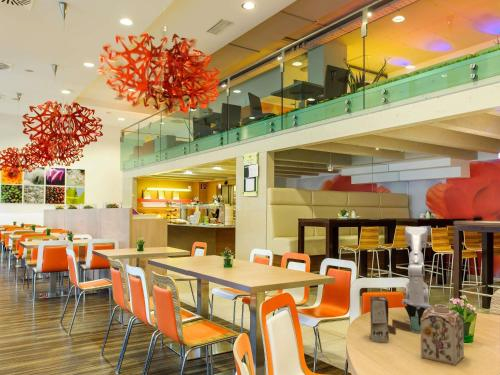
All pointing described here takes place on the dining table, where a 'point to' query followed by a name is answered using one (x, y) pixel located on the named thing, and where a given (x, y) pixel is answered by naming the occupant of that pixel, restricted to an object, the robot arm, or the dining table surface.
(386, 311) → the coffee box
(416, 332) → the mat
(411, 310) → the robot arm
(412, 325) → the block
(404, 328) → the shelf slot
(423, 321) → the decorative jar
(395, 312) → the dining table surface
